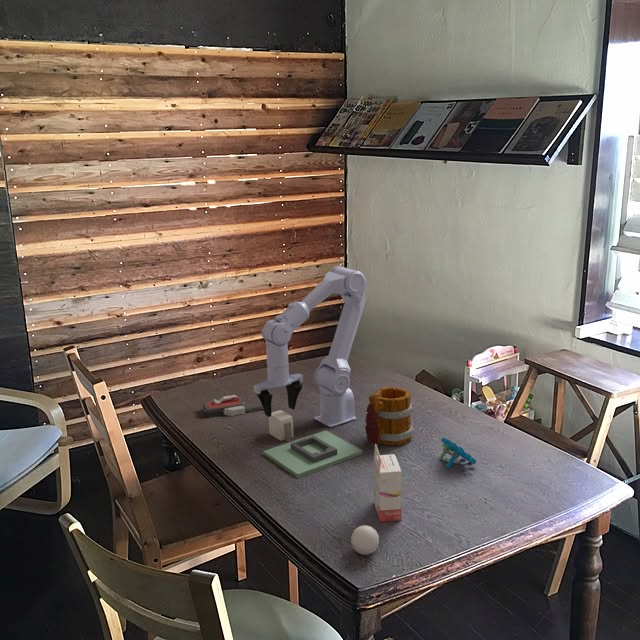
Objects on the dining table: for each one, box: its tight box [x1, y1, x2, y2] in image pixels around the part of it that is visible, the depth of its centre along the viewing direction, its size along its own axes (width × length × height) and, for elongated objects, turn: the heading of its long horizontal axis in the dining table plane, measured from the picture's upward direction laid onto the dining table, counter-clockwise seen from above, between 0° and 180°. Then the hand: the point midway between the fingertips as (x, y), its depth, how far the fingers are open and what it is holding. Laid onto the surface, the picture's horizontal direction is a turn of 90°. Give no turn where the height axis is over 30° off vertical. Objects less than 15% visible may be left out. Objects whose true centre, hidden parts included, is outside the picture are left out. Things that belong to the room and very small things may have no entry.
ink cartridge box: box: [373, 444, 402, 523], centre depth 156 cm, size 9×5×15 cm, turn 5°
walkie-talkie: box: [202, 394, 263, 418], centre depth 216 cm, size 9×4×20 cm
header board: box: [262, 430, 363, 479], centre depth 186 cm, size 20×16×2 cm
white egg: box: [350, 524, 381, 556], centre depth 144 cm, size 8×6×6 cm
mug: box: [364, 386, 415, 447], centre depth 190 cm, size 11×16×15 cm, turn 137°
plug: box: [268, 409, 294, 442], centre depth 197 cm, size 4×9×6 cm, turn 36°
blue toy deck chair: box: [438, 437, 477, 469], centre depth 177 cm, size 11×6×10 cm
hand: (280, 411), depth 196 cm, fingers open, 7 cm apart
